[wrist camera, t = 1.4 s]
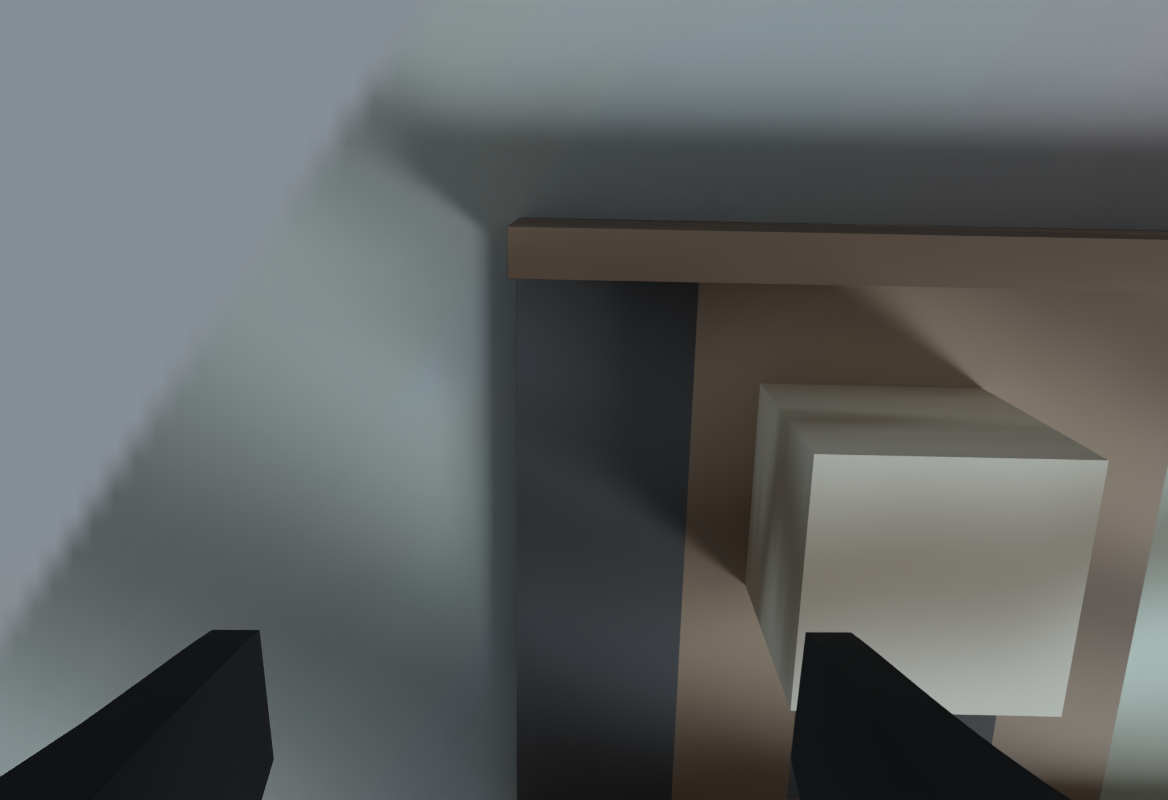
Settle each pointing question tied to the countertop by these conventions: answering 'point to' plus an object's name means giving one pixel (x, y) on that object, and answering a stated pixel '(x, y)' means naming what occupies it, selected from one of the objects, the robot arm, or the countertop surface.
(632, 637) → the wooden tray
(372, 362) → the countertop surface
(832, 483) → the cream cube
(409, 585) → the countertop surface
